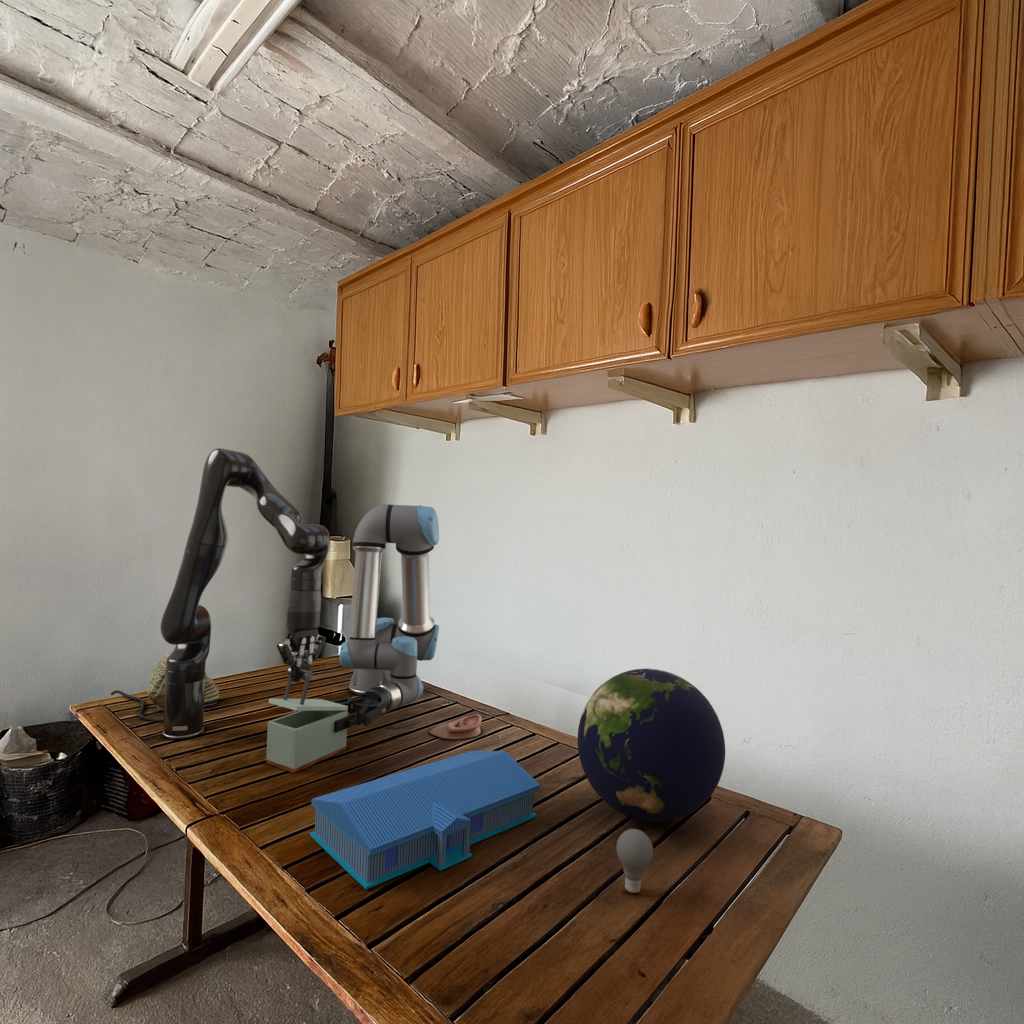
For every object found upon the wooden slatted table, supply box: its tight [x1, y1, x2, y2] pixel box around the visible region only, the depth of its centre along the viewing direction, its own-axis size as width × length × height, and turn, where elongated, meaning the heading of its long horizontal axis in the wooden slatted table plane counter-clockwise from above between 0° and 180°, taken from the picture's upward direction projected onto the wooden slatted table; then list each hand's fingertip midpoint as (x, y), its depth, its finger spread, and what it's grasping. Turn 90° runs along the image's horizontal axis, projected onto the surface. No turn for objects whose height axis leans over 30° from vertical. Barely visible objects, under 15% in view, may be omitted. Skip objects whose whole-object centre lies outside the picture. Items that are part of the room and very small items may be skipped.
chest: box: [265, 710, 349, 774], centre depth 154 cm, size 17×9×10 cm, turn 151°
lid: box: [268, 666, 348, 712], centre depth 155 cm, size 17×9×9 cm, turn 151°
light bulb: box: [615, 828, 654, 894], centre depth 106 cm, size 6×6×10 cm
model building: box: [309, 750, 541, 890], centre depth 123 cm, size 39×24×10 cm, turn 132°
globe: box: [577, 667, 726, 824], centre depth 132 cm, size 30×30×30 cm
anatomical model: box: [429, 713, 482, 740], centre depth 174 cm, size 13×4×12 cm
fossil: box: [147, 654, 221, 712], centre depth 185 cm, size 9×18×15 cm, turn 132°
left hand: (300, 680), depth 151 cm, fingers closed on lid, 2 cm apart
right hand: (320, 722), depth 157 cm, fingers closed on chest, 9 cm apart
